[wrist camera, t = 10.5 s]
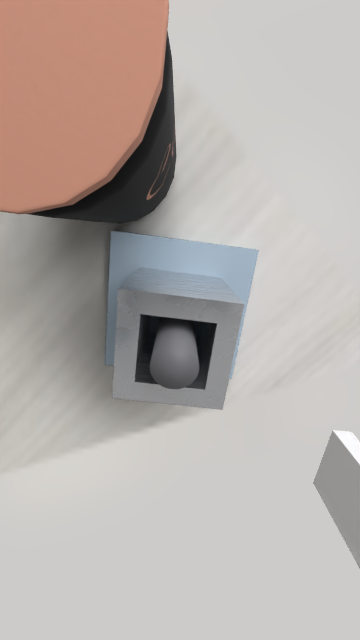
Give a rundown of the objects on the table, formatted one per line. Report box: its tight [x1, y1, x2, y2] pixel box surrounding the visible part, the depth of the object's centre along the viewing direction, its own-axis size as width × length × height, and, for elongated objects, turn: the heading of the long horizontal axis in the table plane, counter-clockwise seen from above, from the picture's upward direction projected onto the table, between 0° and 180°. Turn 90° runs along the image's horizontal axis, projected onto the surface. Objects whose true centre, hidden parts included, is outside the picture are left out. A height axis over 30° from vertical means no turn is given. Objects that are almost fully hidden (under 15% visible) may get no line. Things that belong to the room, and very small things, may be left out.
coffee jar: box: [0, 0, 176, 224], centre depth 16 cm, size 11×11×18 cm
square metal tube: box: [112, 267, 244, 410], centre depth 23 cm, size 8×8×10 cm
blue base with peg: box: [105, 231, 258, 389], centre depth 23 cm, size 14×14×13 cm
